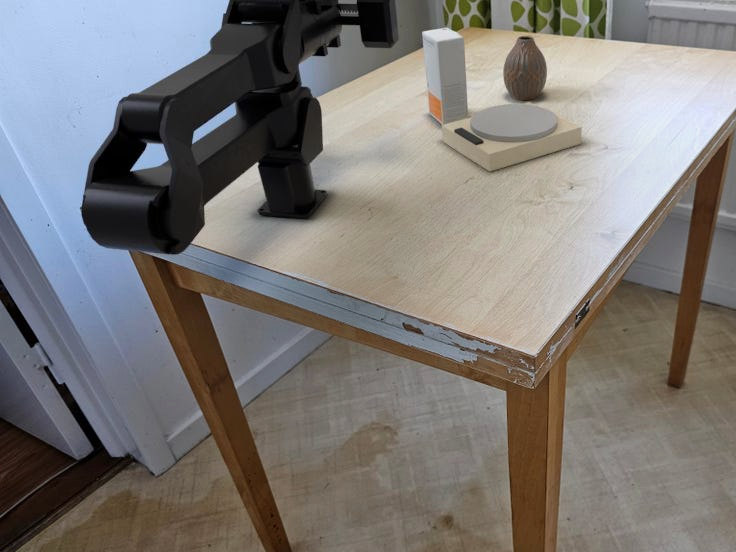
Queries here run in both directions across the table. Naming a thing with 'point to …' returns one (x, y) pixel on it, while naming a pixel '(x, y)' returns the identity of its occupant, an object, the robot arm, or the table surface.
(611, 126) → the table surface
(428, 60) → the cosmetic box
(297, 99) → the robot arm
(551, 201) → the table surface
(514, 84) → the vase
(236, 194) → the table surface
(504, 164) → the scale
